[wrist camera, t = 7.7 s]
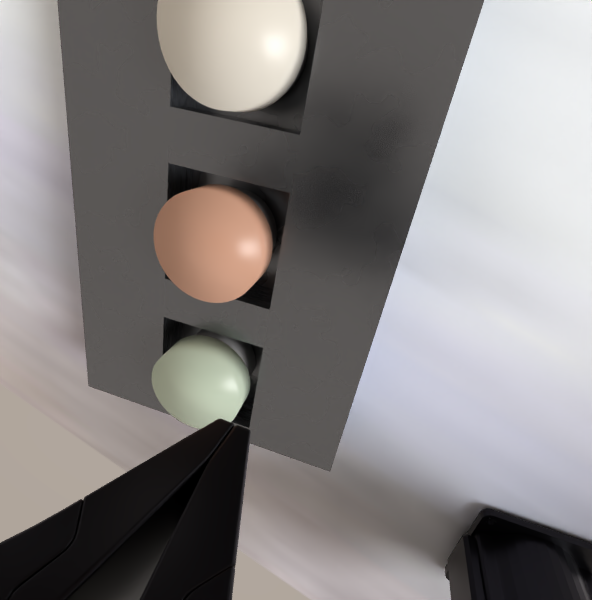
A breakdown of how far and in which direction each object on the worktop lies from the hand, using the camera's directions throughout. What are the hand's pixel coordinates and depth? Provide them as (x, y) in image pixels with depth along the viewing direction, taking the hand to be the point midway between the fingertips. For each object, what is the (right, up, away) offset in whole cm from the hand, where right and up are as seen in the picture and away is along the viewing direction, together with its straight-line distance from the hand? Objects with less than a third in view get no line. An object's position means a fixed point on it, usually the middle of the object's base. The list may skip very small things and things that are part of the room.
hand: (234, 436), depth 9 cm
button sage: (-2, 0, +11) cm, 11 cm away
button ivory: (0, +13, +5) cm, 14 cm away
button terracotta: (-1, +6, +8) cm, 10 cm away
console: (-1, +7, +9) cm, 11 cm away
